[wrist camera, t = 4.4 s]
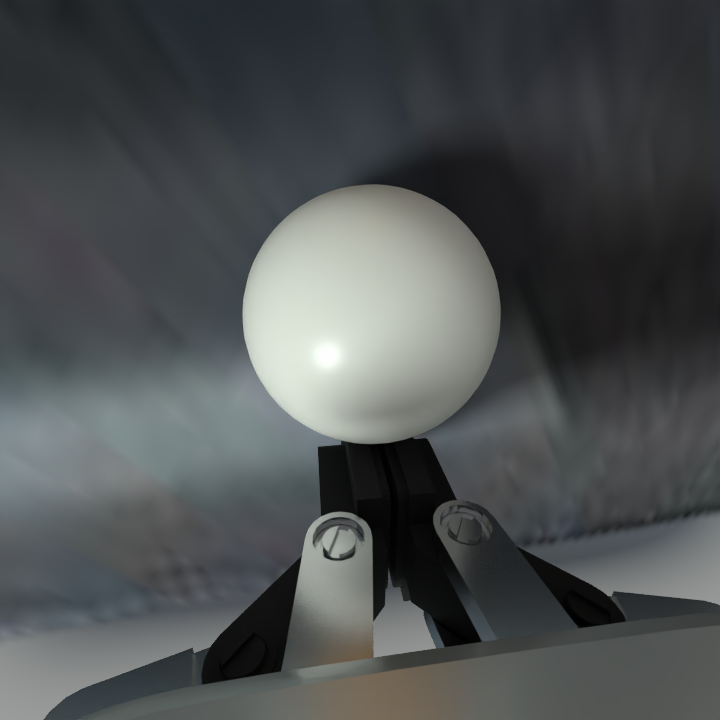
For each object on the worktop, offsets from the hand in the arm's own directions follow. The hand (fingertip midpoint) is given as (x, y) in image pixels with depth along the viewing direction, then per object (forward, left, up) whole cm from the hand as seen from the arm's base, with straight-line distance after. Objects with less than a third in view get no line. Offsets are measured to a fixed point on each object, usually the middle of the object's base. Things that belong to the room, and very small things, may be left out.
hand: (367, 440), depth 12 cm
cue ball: (0, -4, +1) cm, 4 cm away
